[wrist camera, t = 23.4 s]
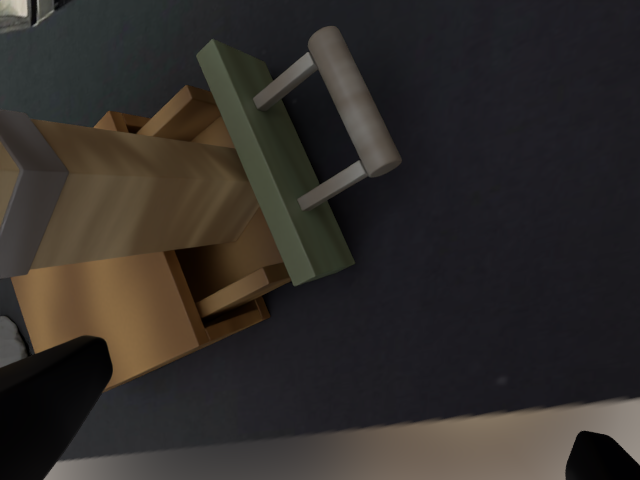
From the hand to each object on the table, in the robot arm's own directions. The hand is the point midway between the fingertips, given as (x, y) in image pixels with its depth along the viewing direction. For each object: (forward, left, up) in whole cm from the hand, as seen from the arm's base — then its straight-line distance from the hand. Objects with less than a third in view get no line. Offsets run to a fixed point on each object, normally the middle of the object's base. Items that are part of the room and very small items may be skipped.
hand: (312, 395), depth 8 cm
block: (+8, +8, -10) cm, 15 cm away
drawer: (+8, +8, -11) cm, 16 cm away
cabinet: (+8, +18, -12) cm, 23 cm away
